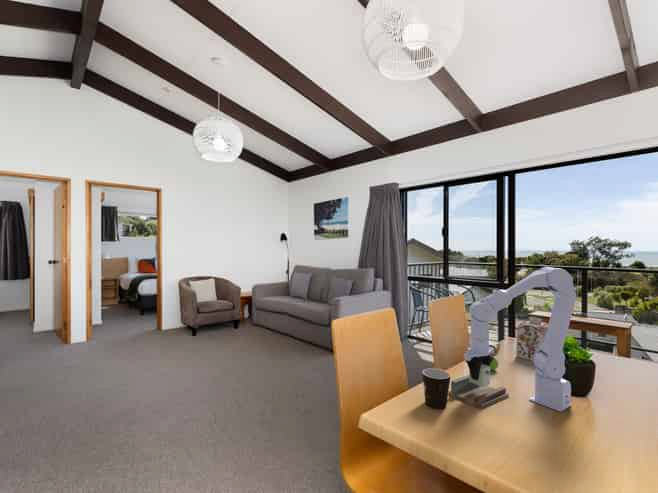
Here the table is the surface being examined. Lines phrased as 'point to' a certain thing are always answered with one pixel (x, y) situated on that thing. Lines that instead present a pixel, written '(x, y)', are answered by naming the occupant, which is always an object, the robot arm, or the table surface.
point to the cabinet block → (482, 376)
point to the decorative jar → (530, 337)
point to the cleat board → (476, 393)
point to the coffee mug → (436, 387)
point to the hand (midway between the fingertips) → (478, 377)
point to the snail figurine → (494, 363)
